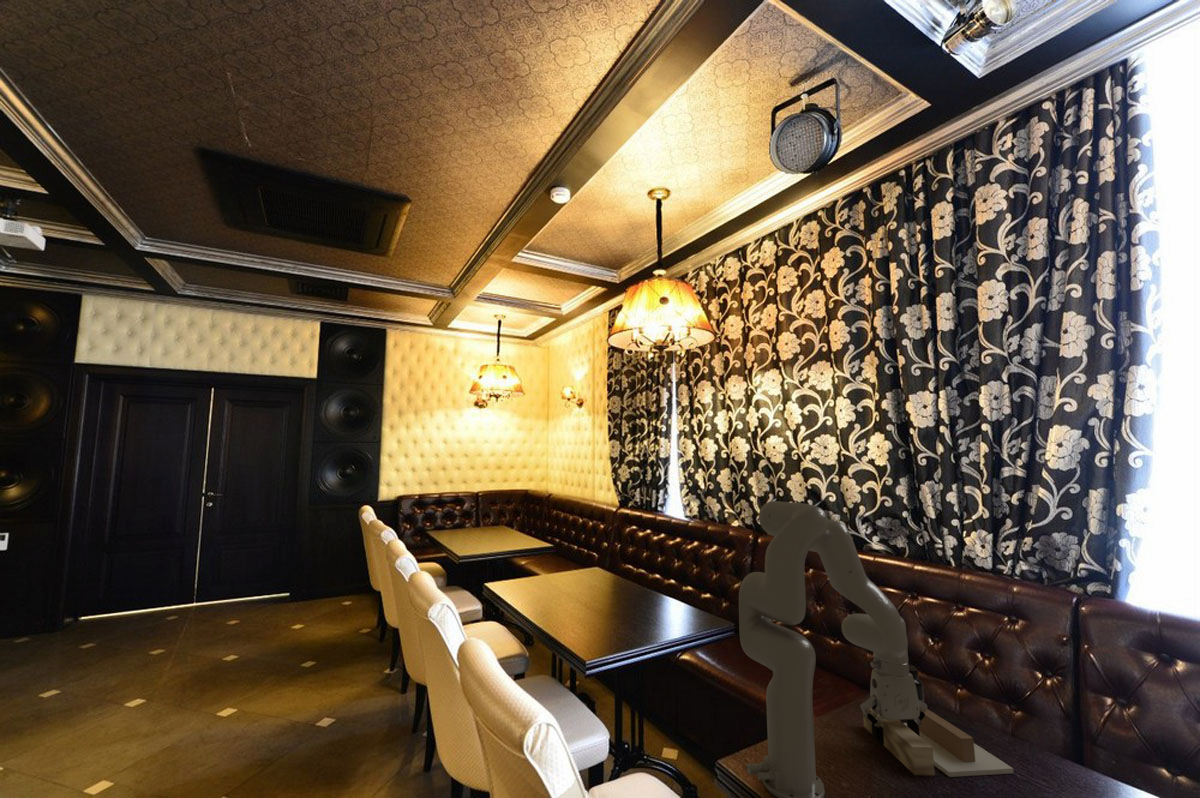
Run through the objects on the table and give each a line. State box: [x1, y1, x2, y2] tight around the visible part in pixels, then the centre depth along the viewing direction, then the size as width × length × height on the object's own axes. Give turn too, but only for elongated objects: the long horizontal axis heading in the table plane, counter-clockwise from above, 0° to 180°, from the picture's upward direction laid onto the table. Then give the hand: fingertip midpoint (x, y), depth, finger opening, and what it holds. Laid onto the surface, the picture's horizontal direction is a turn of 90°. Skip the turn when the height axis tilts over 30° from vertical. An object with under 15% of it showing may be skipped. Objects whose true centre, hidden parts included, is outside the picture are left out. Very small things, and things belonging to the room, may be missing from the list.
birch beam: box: [862, 708, 936, 776], centre depth 115 cm, size 20×4×6 cm, turn 1°
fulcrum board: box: [903, 708, 1015, 778], centre depth 116 cm, size 16×20×6 cm
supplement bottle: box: [908, 664, 925, 703], centre depth 134 cm, size 7×7×12 cm
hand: (896, 741), depth 115 cm, fingers open, 9 cm apart
